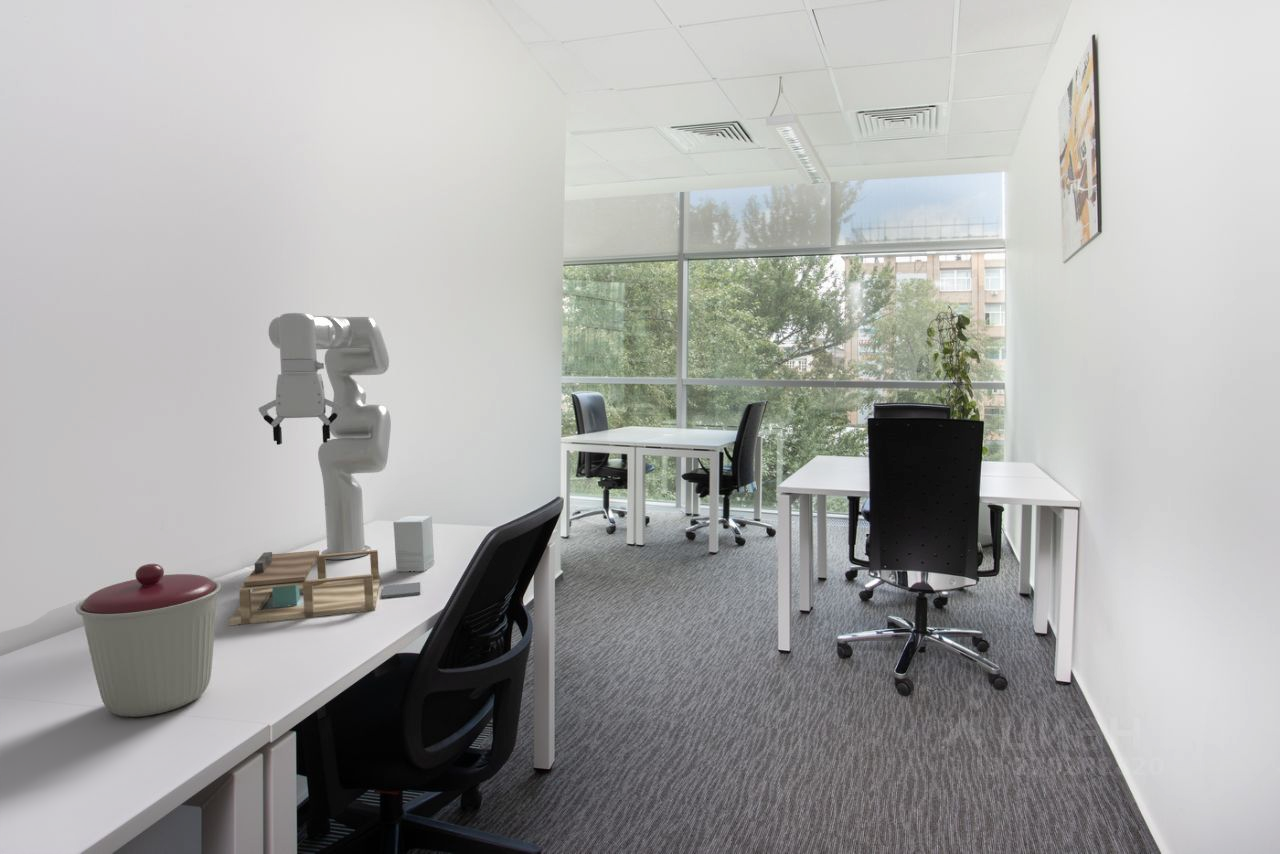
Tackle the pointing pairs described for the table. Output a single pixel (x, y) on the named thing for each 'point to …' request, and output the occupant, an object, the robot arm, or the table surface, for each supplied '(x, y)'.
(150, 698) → the canister
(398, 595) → the felt mat
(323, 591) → the light wood slatted frame
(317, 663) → the table surface
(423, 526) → the supplement box
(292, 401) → the robot arm
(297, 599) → the teal block
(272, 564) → the walnut lid
